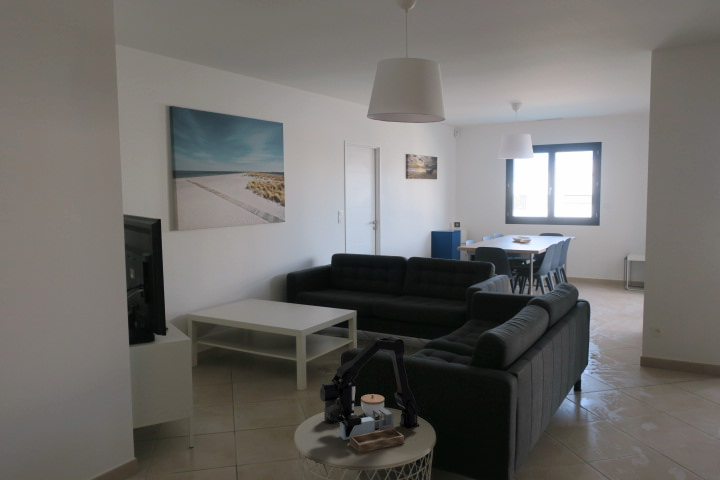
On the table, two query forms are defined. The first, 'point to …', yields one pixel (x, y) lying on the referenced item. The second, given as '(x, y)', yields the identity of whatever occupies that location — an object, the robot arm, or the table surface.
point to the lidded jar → (372, 404)
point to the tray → (376, 440)
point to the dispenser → (387, 421)
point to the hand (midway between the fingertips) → (345, 434)
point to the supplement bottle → (326, 419)
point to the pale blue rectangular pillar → (359, 428)
